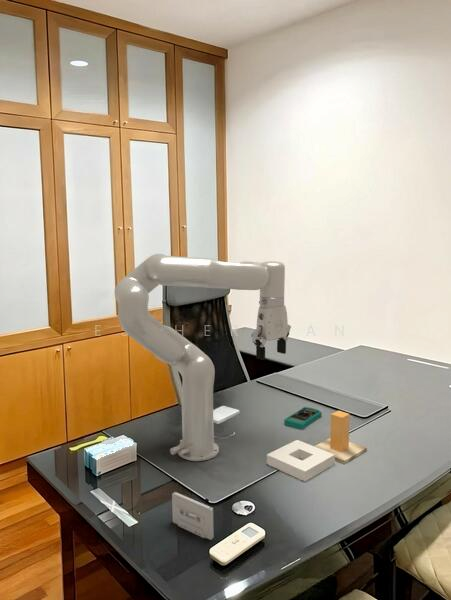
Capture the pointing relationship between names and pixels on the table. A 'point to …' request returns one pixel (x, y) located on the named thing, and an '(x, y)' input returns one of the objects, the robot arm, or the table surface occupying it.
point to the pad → (347, 454)
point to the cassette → (194, 523)
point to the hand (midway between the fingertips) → (271, 355)
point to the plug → (339, 431)
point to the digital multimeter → (303, 418)
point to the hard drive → (223, 414)
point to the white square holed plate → (292, 465)
